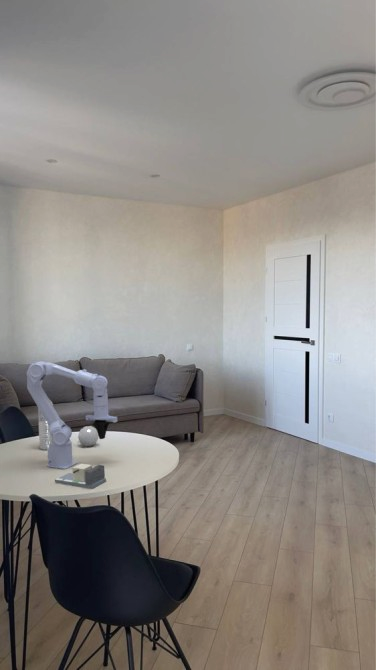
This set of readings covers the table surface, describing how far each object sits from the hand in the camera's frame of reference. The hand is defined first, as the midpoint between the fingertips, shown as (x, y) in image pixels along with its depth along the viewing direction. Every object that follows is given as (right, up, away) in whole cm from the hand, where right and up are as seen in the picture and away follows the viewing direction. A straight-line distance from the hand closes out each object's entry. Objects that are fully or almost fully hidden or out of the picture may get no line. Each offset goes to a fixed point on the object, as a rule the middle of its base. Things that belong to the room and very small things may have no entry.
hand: (102, 438), depth 198 cm
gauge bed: (-4, -11, -21) cm, 25 cm away
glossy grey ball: (-13, -10, +31) cm, 35 cm away
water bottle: (-30, -11, +27) cm, 42 cm away
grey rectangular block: (+2, -10, -24) cm, 26 cm away
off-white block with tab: (-3, -10, -23) cm, 25 cm away
